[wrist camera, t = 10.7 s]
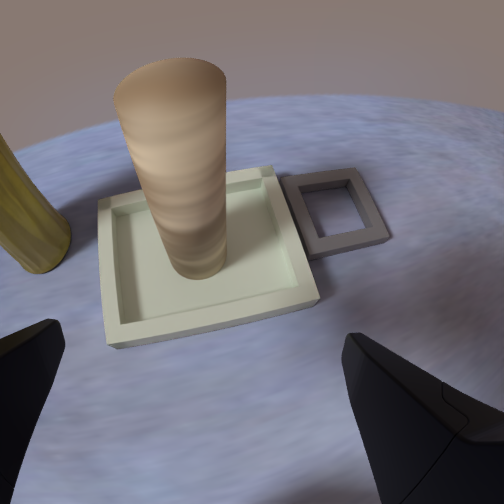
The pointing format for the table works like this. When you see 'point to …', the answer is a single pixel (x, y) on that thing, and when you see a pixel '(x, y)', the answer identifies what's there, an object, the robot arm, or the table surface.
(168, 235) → the dowel
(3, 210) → the vase
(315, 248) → the holder
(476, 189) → the table surface
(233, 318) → the tray
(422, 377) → the robot arm
